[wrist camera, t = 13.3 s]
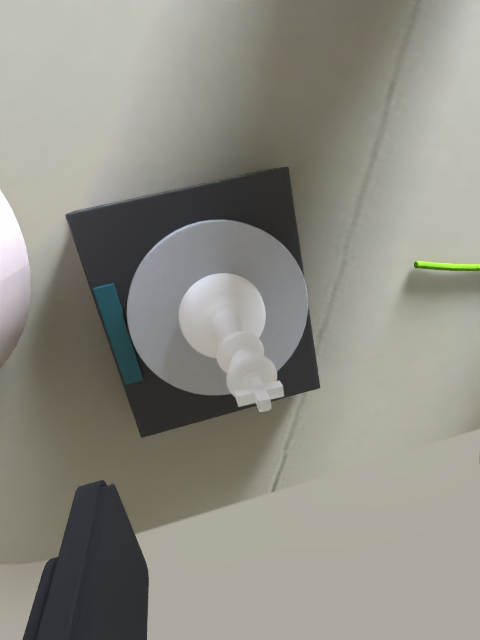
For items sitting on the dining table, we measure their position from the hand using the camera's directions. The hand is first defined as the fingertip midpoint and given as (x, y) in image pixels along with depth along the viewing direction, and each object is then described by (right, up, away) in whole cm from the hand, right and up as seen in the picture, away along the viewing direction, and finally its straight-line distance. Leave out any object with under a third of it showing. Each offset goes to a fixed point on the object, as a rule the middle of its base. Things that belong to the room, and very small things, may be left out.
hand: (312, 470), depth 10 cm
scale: (-4, +5, +16) cm, 17 cm away
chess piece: (-3, +4, +13) cm, 14 cm away
